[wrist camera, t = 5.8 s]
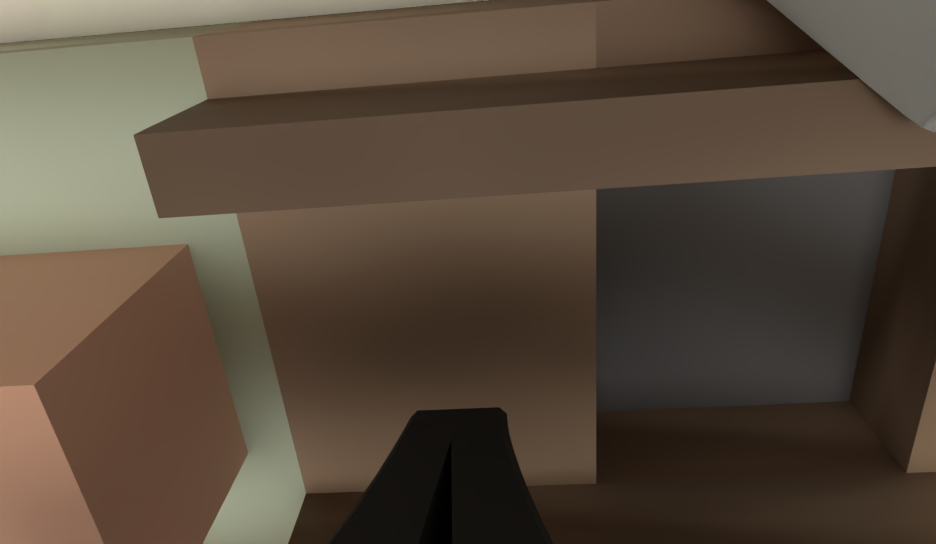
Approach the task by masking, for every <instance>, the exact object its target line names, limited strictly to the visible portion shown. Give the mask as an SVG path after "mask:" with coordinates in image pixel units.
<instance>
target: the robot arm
mask: <svg viewBox="0 0 936 544" xmlns="http://www.w3.org/2000/svg"><path fill="white" fill-rule="evenodd" d="M327 544H554V543H553V542H552V540H551V538H550V536H549V534H548V531H547V529H546V527H545V525H544V523H543V521H542V519H541V517H540V515H539V512H538V510H537V508H536V506H535V503H534V501H533V499H532V497H531V494H530V492H529V490H528V488H527V485H526V483H525V480H524V478H523V475H522V473H521V470H520V467H519V464H518V461H517V458H516V455H515V452H514V449H513V445H512V442H511V438H510V434H509V429H508V420H507V413H506V412H504V411H503V410H502V409H501V408H500V407H492V408H467V409H442V410H417V411H416V412H415V413H414V414H413V415H412V416H411V417H410V419H409V421H408V423H407V425H406V427H405V428H404V430H403V432H402V434H401V435H400V437H399V439H398V440H397V442H396V444H395V446H394V447H393V449H392V450H391V452H390V454H389V455H388V457H387V459H386V460H385V462H384V463H383V465H382V466H381V468H380V470H379V471H378V473H377V474H376V476H375V477H374V479H373V480H372V482H371V483H370V485H369V486H368V488H367V489H366V490H365V492H364V493H363V495H362V496H361V498H360V499H359V501H358V502H357V504H356V505H355V507H354V508H353V509H352V511H351V512H350V514H349V515H348V517H347V518H346V519H345V521H344V522H343V523H342V525H341V526H340V527H339V529H338V530H337V531H336V533H335V534H334V535H333V536H332V538H331V539H330V540H329V542H328V543H327Z"/></svg>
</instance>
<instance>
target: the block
mask: <svg viewBox="0 0 936 544" xmlns="http://www.w3.org/2000/svg"><path fill="white" fill-rule="evenodd" d="M247 455H248V451H247V447H246V444H245V440H244V437H243V433H242V430H241V426H240V423H239V419H238V416H237V413H236V409H235V406H234V402H233V399H232V395H231V392H230V388H229V385H228V381H227V378H226V374H225V371H224V368H223V364H222V361H221V357H220V354H219V350H218V347H217V343H216V340H215V336H214V333H213V329H212V326H211V323H210V319H209V316H208V312H207V309H206V305H205V302H204V298H203V295H202V291H201V288H200V284H199V281H198V278H197V274H196V271H195V267H194V264H193V260H192V257H191V253H190V250H189V246H188V244H180V245H164V246H148V247H132V248H116V249H100V250H84V251H69V252H53V253H37V254H21V255H5V256H0V544H203V542H204V540H205V538H206V536H207V534H208V532H209V530H210V528H211V526H212V524H213V522H214V520H215V518H216V516H217V514H218V512H219V510H220V508H221V506H222V505H223V503H224V501H225V499H226V497H227V495H228V493H229V491H230V489H231V487H232V485H233V483H234V481H235V479H236V477H237V475H238V473H239V471H240V469H241V467H242V465H243V463H244V461H245V459H246V457H247Z"/></svg>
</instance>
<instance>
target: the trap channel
mask: <svg viewBox="0 0 936 544" xmlns="http://www.w3.org/2000/svg"><path fill="white" fill-rule="evenodd" d="M180 244H188V246H189V250H190V253H191V257H192V260H193V264H194V267H195V271H196V274H197V278H198V281H199V284H200V288H201V291H202V295H203V298H204V302H205V305H206V309H207V312H208V316H209V319H210V323H211V326H212V329H213V333H214V336H215V340H216V343H217V347H218V350H219V354H220V357H221V361H222V364H223V368H224V371H225V374H226V378H227V381H228V385H229V388H230V392H231V395H232V399H233V402H234V406H235V409H236V413H237V416H238V419H239V423H240V426H241V430H242V433H243V437H244V440H245V444H246V447H247V451H248V455H247V457H246V459H245V461H244V463H243V465H242V467H241V469H240V471H239V473H238V475H237V477H236V479H235V481H234V483H233V485H232V487H231V489H230V491H229V493H228V495H227V497H226V499H225V501H224V503H223V505H222V506H221V508H220V510H219V512H218V514H217V516H216V518H215V520H214V522H213V524H212V526H211V528H210V530H209V532H208V534H207V536H206V538H205V540H204V542H203V544H327V543H328V542H329V540H330V539H331V538H332V536H333V535H334V534H335V533H336V531H337V530H338V529H339V527H340V526H341V525H342V523H343V522H344V521H345V519H346V518H347V517H348V515H349V514H350V512H351V511H352V509H353V508H354V507H355V505H356V504H357V502H358V501H359V499H360V498H361V496H362V495H363V493H364V492H365V490H366V489H367V488H368V486H369V485H370V483H371V482H372V480H373V479H374V477H375V476H376V474H377V473H378V471H379V470H380V468H381V466H382V465H383V463H384V462H385V460H386V459H387V457H388V455H389V454H390V452H391V450H392V449H393V447H394V446H395V444H396V442H397V440H398V439H399V437H400V435H401V434H402V432H403V430H404V428H405V427H406V425H407V423H408V421H409V419H410V417H411V416H412V415H413V414H414V413H415V412H416V411H417V410H442V409H467V408H492V407H500V408H501V409H502V410H503V411H504V412H506V413H507V420H508V429H509V434H510V438H511V442H512V445H513V449H514V452H515V455H516V458H517V461H518V464H519V467H520V470H521V473H522V475H523V478H524V480H525V483H526V485H527V488H528V490H529V492H530V494H531V497H532V499H533V501H534V503H535V506H536V508H537V510H538V512H539V515H540V517H541V519H542V521H543V523H544V525H545V527H546V529H547V531H548V534H549V536H550V538H551V540H552V542H553V543H554V544H936V132H934V133H933V132H931V131H929V130H926V129H924V128H922V127H920V126H919V125H917V124H916V123H915V122H913V121H912V120H910V119H909V118H907V117H906V116H905V115H903V114H902V113H901V112H900V111H899V110H897V109H896V108H895V107H894V106H892V105H891V104H890V103H889V102H888V101H886V100H885V99H884V98H883V97H881V96H880V95H879V94H878V93H877V92H875V91H874V90H873V89H872V88H870V87H869V86H868V85H867V84H866V83H864V82H863V81H862V80H861V79H860V78H859V77H857V76H856V75H855V74H854V73H853V72H852V71H850V70H849V69H848V68H847V67H846V66H844V65H843V64H842V63H841V62H840V61H838V60H837V59H836V58H835V57H834V56H832V55H831V54H830V53H829V52H828V51H826V50H825V49H824V48H823V47H822V46H820V45H819V44H818V43H817V42H816V41H814V40H813V39H812V38H811V37H810V36H809V35H807V34H806V33H805V32H804V31H803V30H801V29H800V28H799V27H798V26H797V25H795V24H794V23H793V22H792V21H791V20H789V19H788V18H787V17H786V16H785V15H784V14H782V13H781V12H780V11H779V10H778V9H776V8H775V7H774V6H773V5H772V4H770V3H769V2H768V1H767V0H489V1H477V2H466V3H455V4H443V5H432V6H421V7H410V8H398V9H387V10H376V11H364V12H353V13H342V14H330V15H319V16H308V17H297V18H285V19H274V20H263V21H251V22H240V23H229V24H217V25H206V26H195V27H183V28H172V29H161V30H150V31H138V32H127V33H116V34H104V35H93V36H82V37H70V38H59V39H48V40H37V41H25V42H14V43H3V44H0V256H5V255H21V254H37V253H53V252H69V251H84V250H100V249H116V248H132V247H148V246H164V245H180Z"/></svg>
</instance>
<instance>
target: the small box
mask: <svg viewBox="0 0 936 544" xmlns="http://www.w3.org/2000/svg"><path fill="white" fill-rule="evenodd" d="M767 1H768V2H769V3H770V4H772V5H773V6H774V7H775V8H776V9H778V10H779V11H780V12H781V13H782V14H784V15H785V16H786V17H787V18H788V19H789V20H791V21H792V22H793V23H794V24H795V25H797V26H798V27H799V28H800V29H801V30H803V31H804V32H805V33H806V34H807V35H809V36H810V37H811V38H812V39H813V40H814V41H816V42H817V43H818V44H819V45H820V46H822V47H823V48H824V49H825V50H826V51H828V52H829V53H830V54H831V55H832V56H834V57H835V58H836V59H837V60H838V61H840V62H841V63H842V64H843V65H844V66H846V67H847V68H848V69H849V70H850V71H852V72H853V73H854V74H855V75H856V76H857V77H859V78H860V79H861V80H862V81H863V82H864V83H866V84H867V85H868V86H869V87H870V88H872V89H873V90H874V91H875V92H877V93H878V94H879V95H880V96H881V97H883V98H884V99H885V100H886V101H888V102H889V103H890V104H891V105H892V106H894V107H895V108H896V109H897V110H899V111H900V112H901V113H902V114H903V115H905V116H906V117H907V118H909V119H910V120H912V121H913V122H915V123H916V124H917V125H919V126H920V127H922V128H924V129H926V130H929V131H931V132H933V133H934V132H936V0H767Z"/></svg>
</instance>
